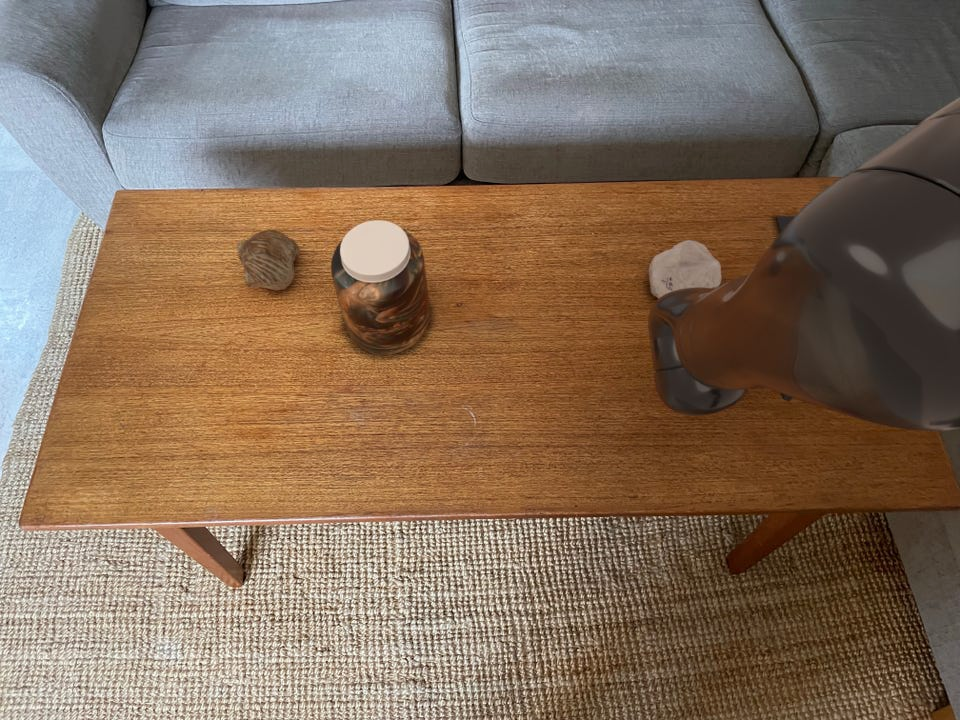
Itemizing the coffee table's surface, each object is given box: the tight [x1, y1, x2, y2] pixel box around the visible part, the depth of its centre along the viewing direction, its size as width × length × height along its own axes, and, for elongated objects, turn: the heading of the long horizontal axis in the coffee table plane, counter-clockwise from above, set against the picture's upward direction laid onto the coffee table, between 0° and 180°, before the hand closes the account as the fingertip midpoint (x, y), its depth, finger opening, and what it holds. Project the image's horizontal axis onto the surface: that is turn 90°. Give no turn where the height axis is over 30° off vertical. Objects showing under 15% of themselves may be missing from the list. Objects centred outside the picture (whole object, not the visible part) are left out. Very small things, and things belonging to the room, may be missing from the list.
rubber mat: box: [775, 215, 795, 234], centre depth 98 cm, size 8×6×1 cm
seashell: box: [236, 229, 301, 291], centre depth 90 cm, size 9×7×8 cm
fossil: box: [648, 239, 723, 299], centre depth 91 cm, size 9×6×10 cm
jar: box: [330, 219, 431, 356], centre depth 83 cm, size 12×12×15 cm
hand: (768, 356), depth 82 cm, fingers closed
